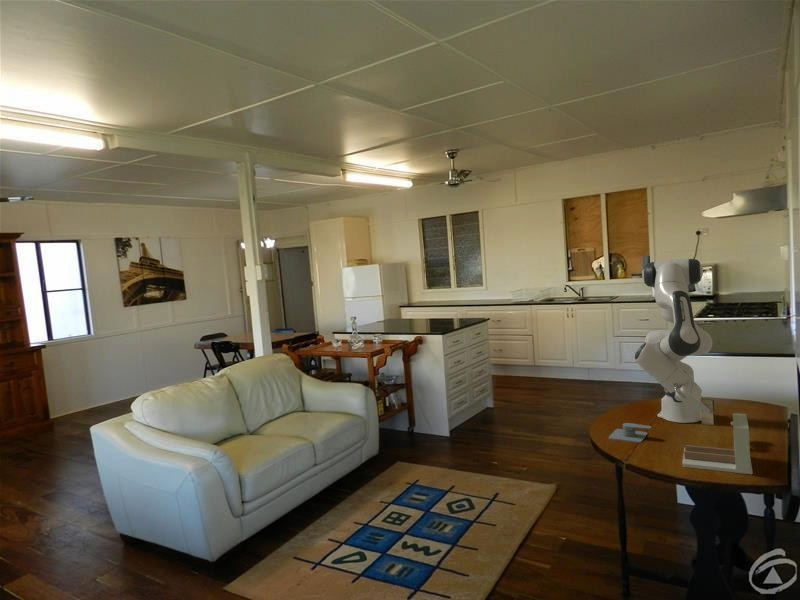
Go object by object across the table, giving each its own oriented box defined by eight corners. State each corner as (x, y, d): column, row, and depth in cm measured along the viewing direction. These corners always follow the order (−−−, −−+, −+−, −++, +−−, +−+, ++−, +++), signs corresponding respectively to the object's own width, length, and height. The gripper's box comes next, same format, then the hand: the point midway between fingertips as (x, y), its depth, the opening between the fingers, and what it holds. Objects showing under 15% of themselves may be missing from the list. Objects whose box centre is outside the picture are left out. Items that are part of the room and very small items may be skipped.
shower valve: (647, 431, 201) (607, 426, 210) (648, 445, 201) (608, 440, 211) (654, 422, 211) (615, 418, 220) (655, 435, 211) (616, 430, 220)
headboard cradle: (684, 450, 192) (682, 410, 191) (749, 456, 182) (747, 414, 181) (682, 466, 179) (680, 423, 178) (752, 474, 168) (750, 428, 167)
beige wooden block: (702, 420, 183) (700, 397, 182) (714, 421, 181) (713, 397, 180) (701, 424, 180) (700, 399, 179) (714, 424, 178) (713, 400, 177)
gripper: (680, 382, 174) (716, 412, 170) (684, 368, 192) (716, 396, 187) (666, 394, 177) (701, 425, 172) (671, 380, 194) (702, 407, 190)
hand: (709, 410), depth 180 cm, fingers closed on beige wooden block, 3 cm apart
